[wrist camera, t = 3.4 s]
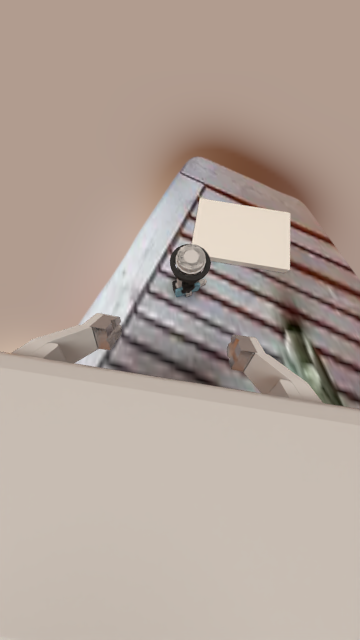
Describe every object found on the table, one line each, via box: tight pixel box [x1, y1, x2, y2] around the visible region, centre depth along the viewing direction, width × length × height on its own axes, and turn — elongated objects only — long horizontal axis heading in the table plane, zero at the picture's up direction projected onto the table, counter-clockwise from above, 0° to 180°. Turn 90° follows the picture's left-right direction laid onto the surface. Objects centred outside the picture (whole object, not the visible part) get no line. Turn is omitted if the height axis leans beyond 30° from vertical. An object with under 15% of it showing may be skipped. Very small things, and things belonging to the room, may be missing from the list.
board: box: [192, 198, 290, 273], centre depth 29 cm, size 20×14×1 cm
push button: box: [170, 244, 211, 297], centre depth 22 cm, size 7×5×10 cm
